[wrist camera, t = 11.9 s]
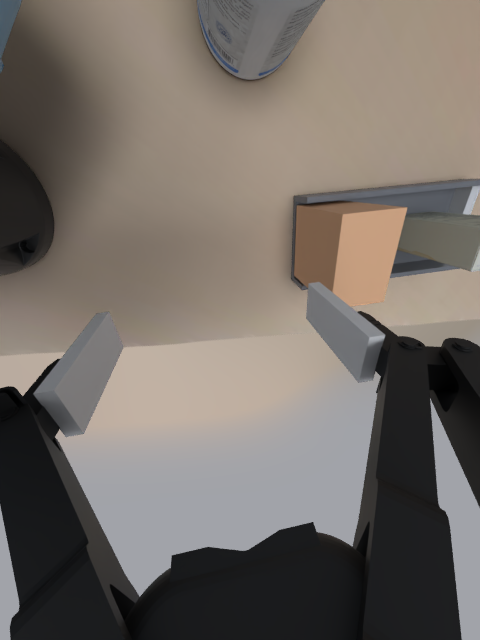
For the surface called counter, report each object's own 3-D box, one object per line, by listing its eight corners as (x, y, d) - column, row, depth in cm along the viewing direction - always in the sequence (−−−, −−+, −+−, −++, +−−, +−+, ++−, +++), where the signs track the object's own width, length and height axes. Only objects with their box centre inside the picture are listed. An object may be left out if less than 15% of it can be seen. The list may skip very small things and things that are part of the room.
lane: (291, 279, 36) (301, 290, 32) (293, 195, 30) (307, 197, 26) (435, 260, 38) (461, 268, 34) (463, 179, 32) (498, 178, 28)
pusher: (293, 275, 34) (330, 309, 25) (296, 205, 30) (342, 214, 20) (333, 270, 35) (383, 301, 25) (342, 200, 30) (407, 207, 21)
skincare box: (385, 247, 35) (466, 274, 24) (392, 214, 32) (485, 228, 22) (425, 241, 35) (521, 265, 25) (435, 209, 33) (545, 220, 22)
